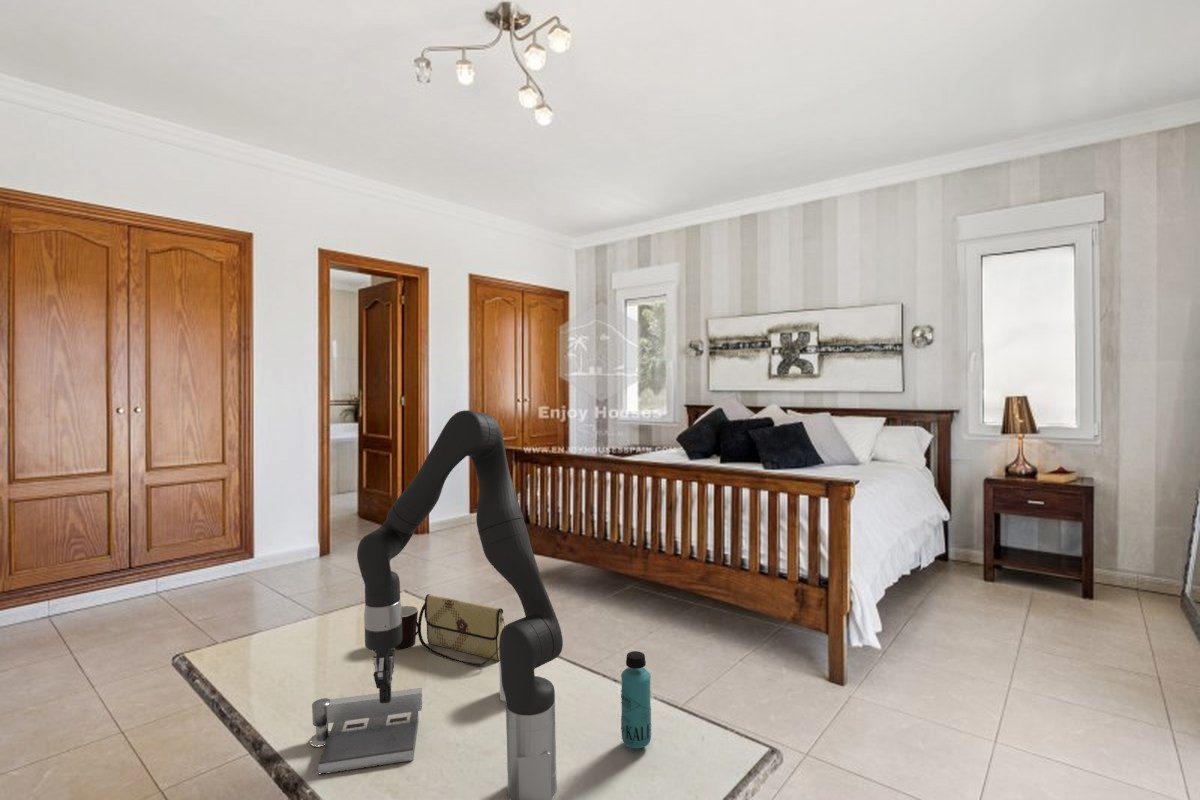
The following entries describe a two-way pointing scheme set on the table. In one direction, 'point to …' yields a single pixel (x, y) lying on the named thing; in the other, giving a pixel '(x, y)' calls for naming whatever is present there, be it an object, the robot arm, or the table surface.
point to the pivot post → (320, 735)
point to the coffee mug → (409, 627)
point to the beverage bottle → (636, 702)
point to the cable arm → (365, 706)
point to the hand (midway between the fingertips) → (385, 701)
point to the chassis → (370, 742)
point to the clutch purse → (462, 627)
